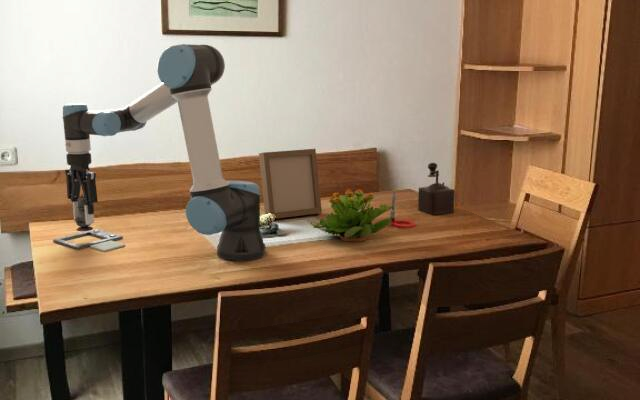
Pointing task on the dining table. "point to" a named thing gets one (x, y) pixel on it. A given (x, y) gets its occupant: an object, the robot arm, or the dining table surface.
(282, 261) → the dining table surface
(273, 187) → the photo frame
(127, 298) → the dining table surface
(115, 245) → the mat
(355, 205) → the potted flower
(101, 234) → the grey metal rectangular frame
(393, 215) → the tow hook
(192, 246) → the dining table surface
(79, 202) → the dark grey chess piece
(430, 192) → the manual coffee grinder
